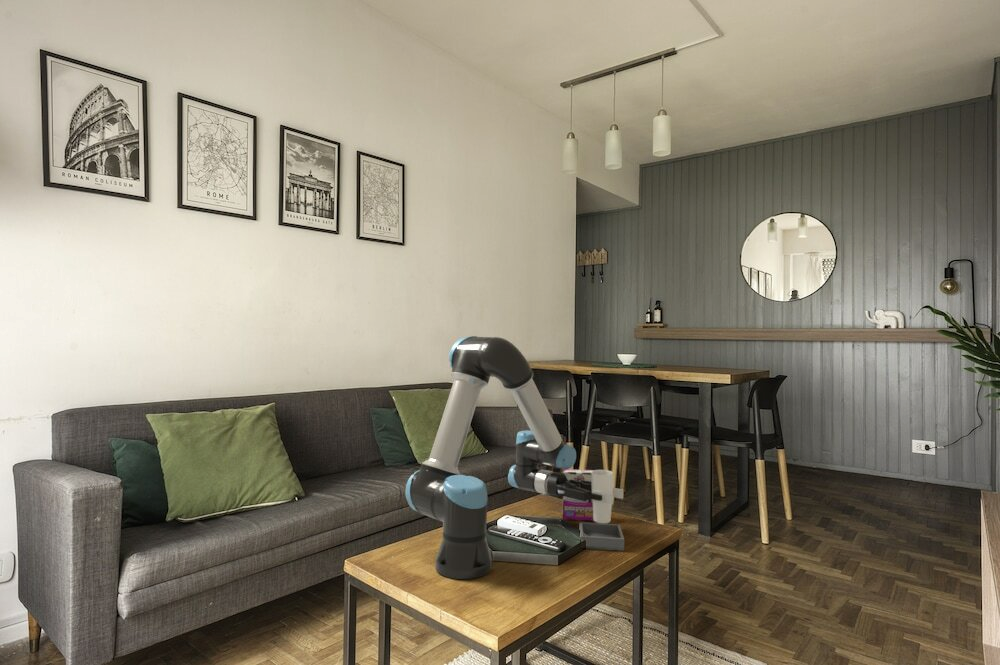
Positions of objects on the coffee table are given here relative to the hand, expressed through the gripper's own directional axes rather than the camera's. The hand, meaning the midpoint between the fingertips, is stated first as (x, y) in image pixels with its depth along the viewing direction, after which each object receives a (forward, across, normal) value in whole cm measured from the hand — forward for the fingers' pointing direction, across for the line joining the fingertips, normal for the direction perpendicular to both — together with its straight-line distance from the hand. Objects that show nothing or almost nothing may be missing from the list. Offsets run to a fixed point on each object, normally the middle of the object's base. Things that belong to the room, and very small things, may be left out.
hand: (617, 496), depth 168 cm
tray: (-5, 0, -15) cm, 16 cm away
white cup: (-5, 0, -9) cm, 10 cm away
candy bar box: (-21, -15, -15) cm, 30 cm away
